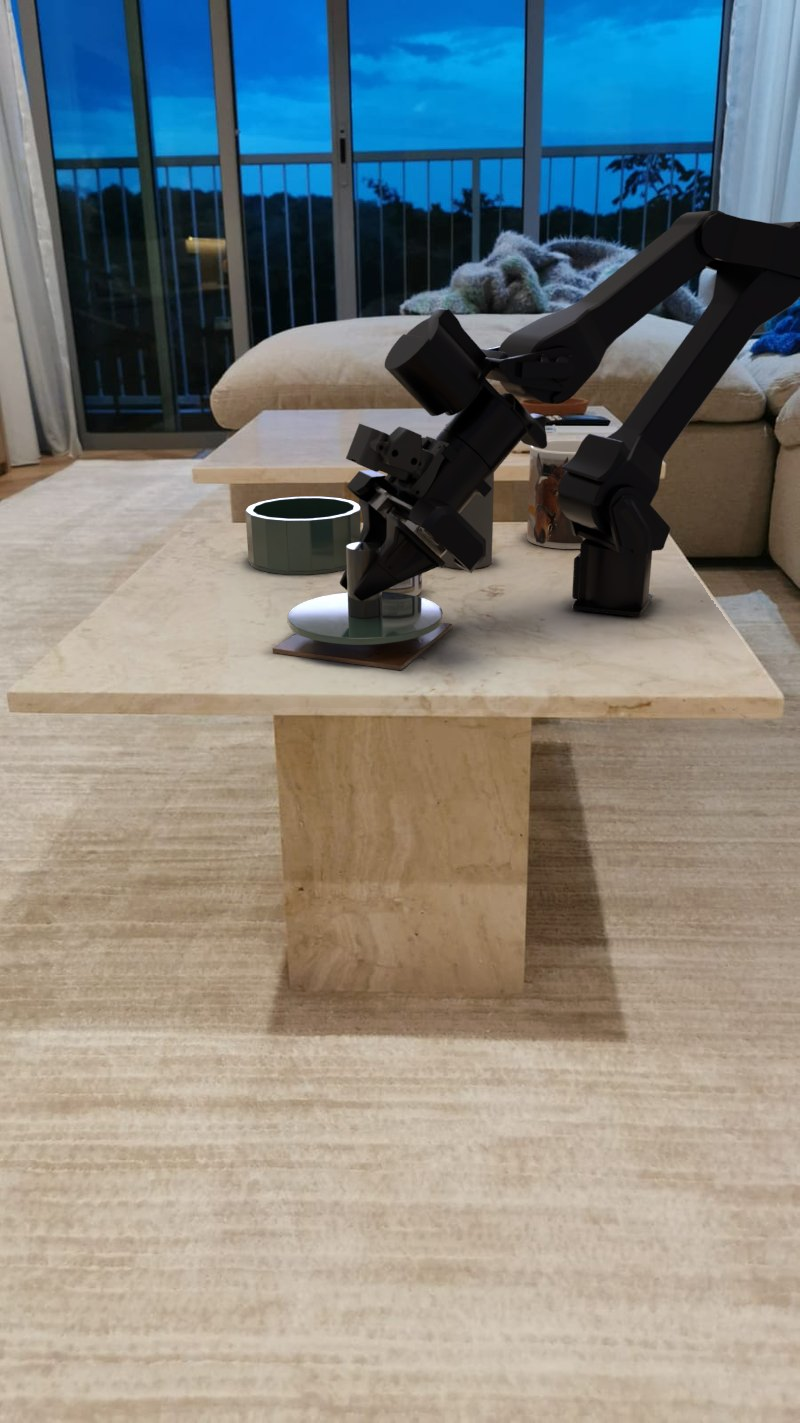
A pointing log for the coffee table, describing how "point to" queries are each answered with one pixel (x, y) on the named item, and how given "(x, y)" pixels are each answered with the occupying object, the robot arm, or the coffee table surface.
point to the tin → (301, 534)
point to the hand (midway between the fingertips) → (349, 592)
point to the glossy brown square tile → (363, 650)
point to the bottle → (478, 523)
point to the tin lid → (364, 610)
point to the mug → (549, 496)
